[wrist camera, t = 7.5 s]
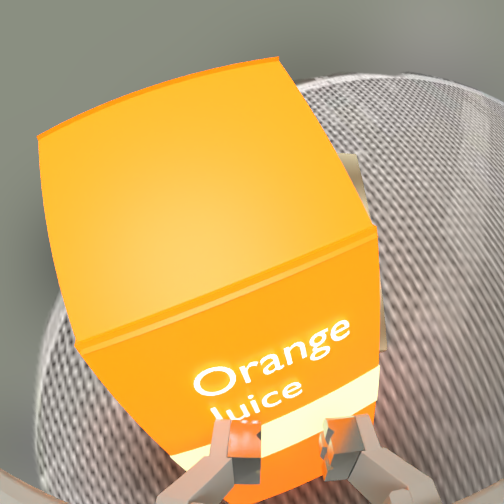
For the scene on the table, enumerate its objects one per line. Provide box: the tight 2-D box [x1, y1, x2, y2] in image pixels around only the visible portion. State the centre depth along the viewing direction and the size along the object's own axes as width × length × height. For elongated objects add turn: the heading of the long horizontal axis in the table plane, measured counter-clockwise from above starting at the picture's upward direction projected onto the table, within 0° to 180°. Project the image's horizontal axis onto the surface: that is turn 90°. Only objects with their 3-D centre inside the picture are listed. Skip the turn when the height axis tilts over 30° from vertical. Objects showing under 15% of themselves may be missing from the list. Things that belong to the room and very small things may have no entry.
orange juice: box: [37, 57, 380, 504], centre depth 13 cm, size 8×9×20 cm
